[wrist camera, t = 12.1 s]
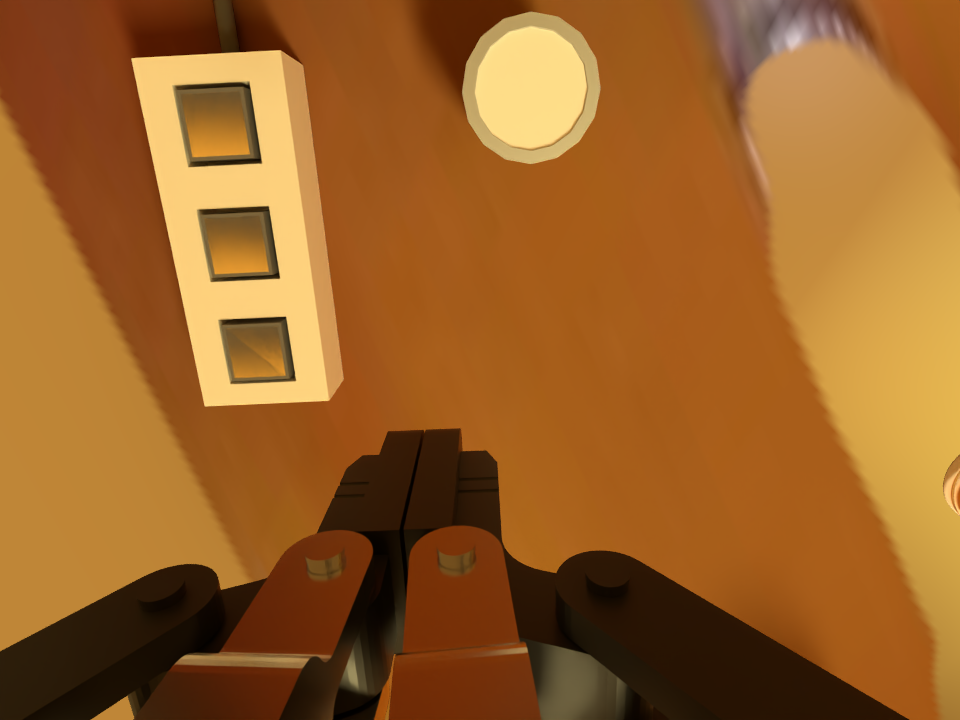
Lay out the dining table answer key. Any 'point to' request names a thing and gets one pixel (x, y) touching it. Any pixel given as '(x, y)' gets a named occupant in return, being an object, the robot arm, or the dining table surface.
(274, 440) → the dining table surface
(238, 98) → the switch
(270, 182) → the power strip
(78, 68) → the dining table surface
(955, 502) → the water bottle
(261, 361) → the switch
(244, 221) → the switch middle
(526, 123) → the white soft cylinder
